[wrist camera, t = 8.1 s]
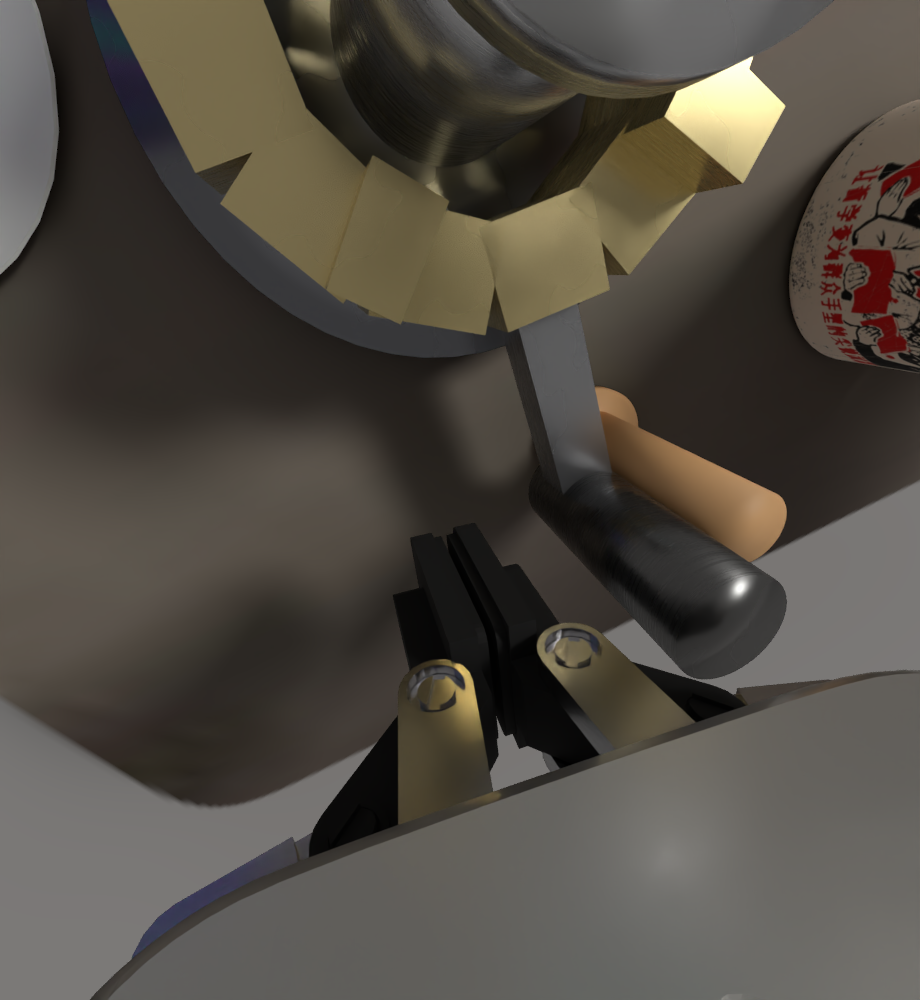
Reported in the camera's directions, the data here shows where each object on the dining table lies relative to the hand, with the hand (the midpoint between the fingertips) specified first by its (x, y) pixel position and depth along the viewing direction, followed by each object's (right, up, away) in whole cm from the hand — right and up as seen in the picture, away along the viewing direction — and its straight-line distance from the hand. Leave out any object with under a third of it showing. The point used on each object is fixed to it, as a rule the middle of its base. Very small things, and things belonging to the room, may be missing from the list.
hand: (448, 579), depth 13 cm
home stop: (+5, +5, +6) cm, 9 cm away
